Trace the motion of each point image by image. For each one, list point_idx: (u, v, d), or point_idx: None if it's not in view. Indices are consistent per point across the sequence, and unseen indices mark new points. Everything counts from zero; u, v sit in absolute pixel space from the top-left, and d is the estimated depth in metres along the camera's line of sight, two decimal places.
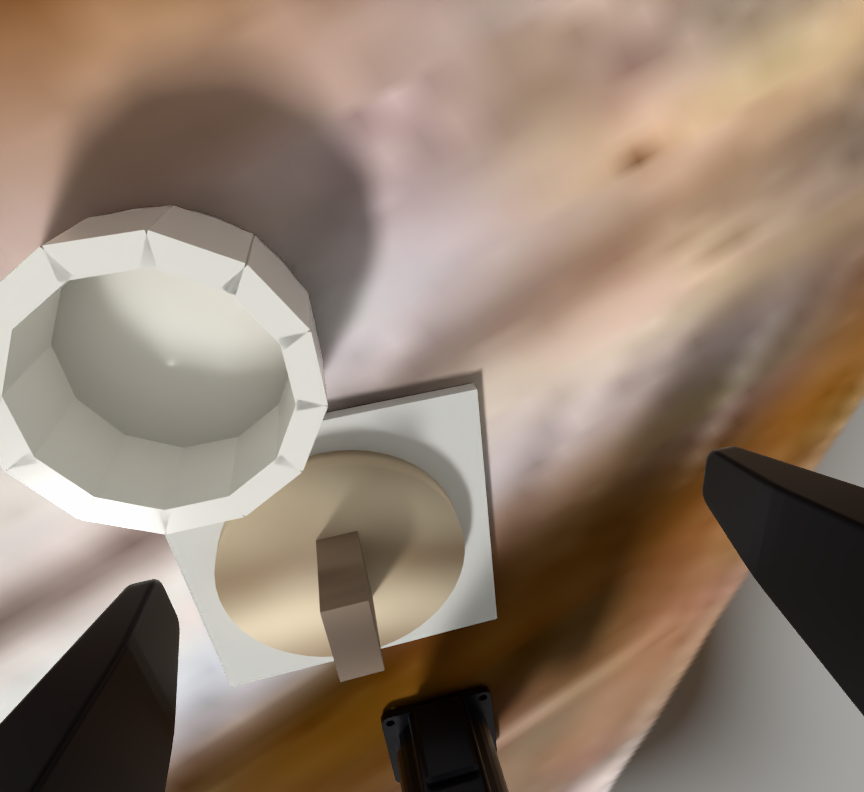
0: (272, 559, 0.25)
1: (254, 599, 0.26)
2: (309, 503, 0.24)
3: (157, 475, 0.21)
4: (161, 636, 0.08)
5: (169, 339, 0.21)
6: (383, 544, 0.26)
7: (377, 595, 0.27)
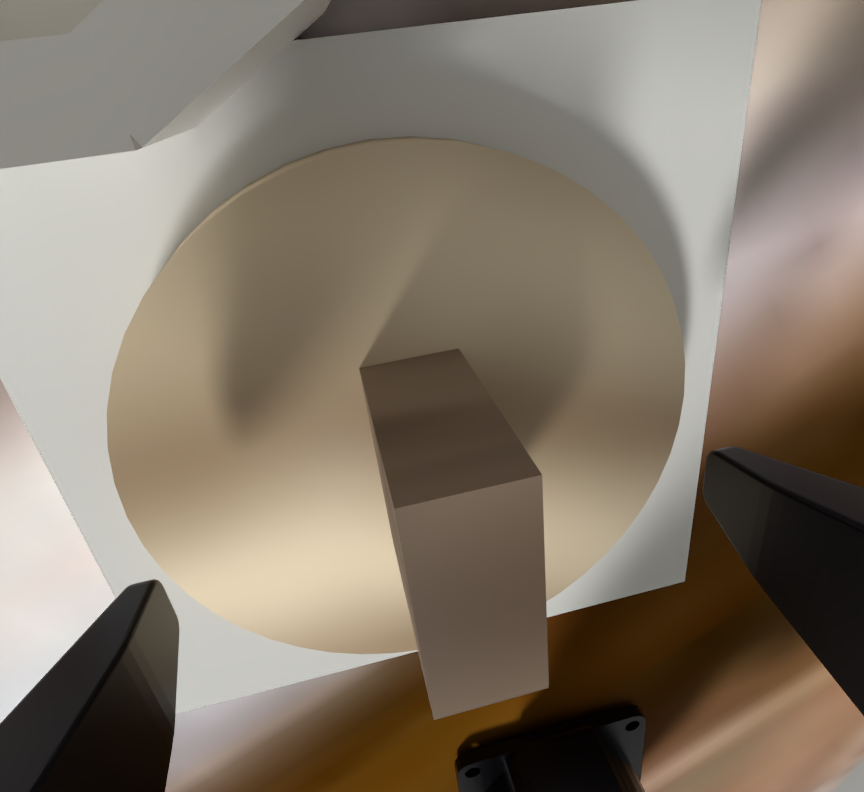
0: (254, 413, 0.10)
1: (212, 518, 0.11)
2: (346, 255, 0.09)
3: None
4: (161, 636, 0.08)
5: None
6: (513, 389, 0.11)
7: None
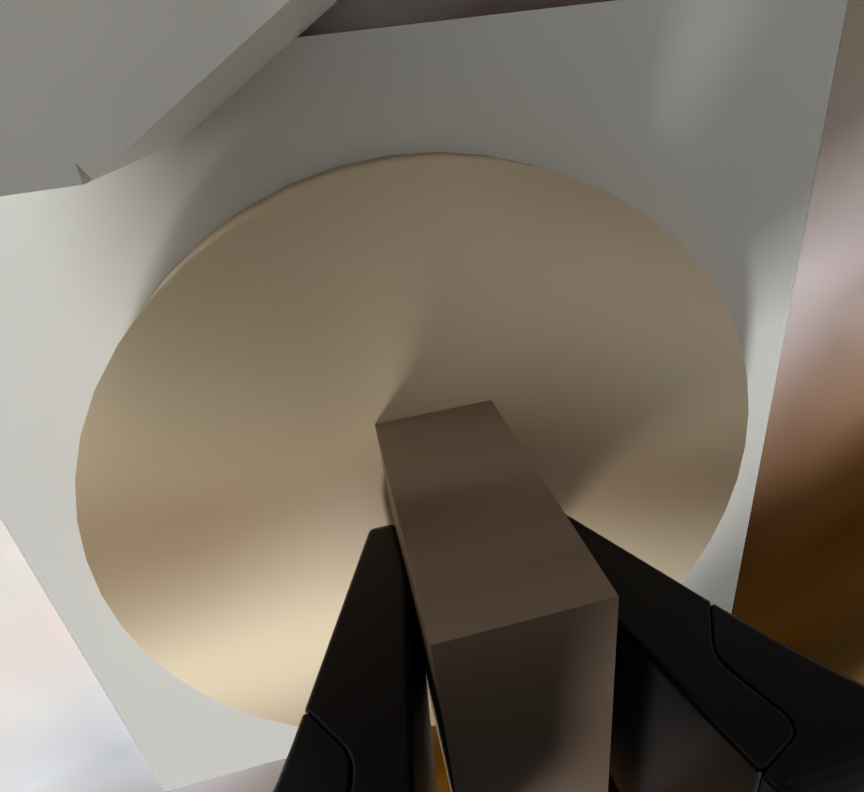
0: (251, 477, 0.09)
1: (202, 594, 0.09)
2: (361, 295, 0.08)
3: None
4: None
5: None
6: (553, 444, 0.10)
7: None
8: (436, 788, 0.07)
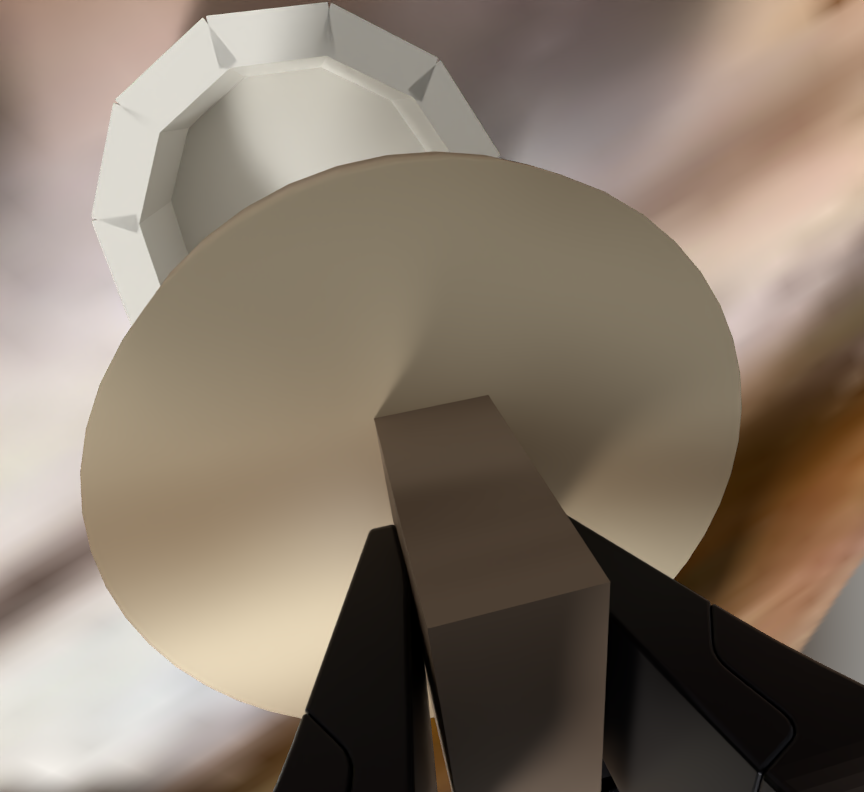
0: (252, 470, 0.09)
1: (204, 586, 0.10)
2: (361, 291, 0.08)
3: None
4: None
5: None
6: (548, 439, 0.10)
7: None
8: (436, 788, 0.07)
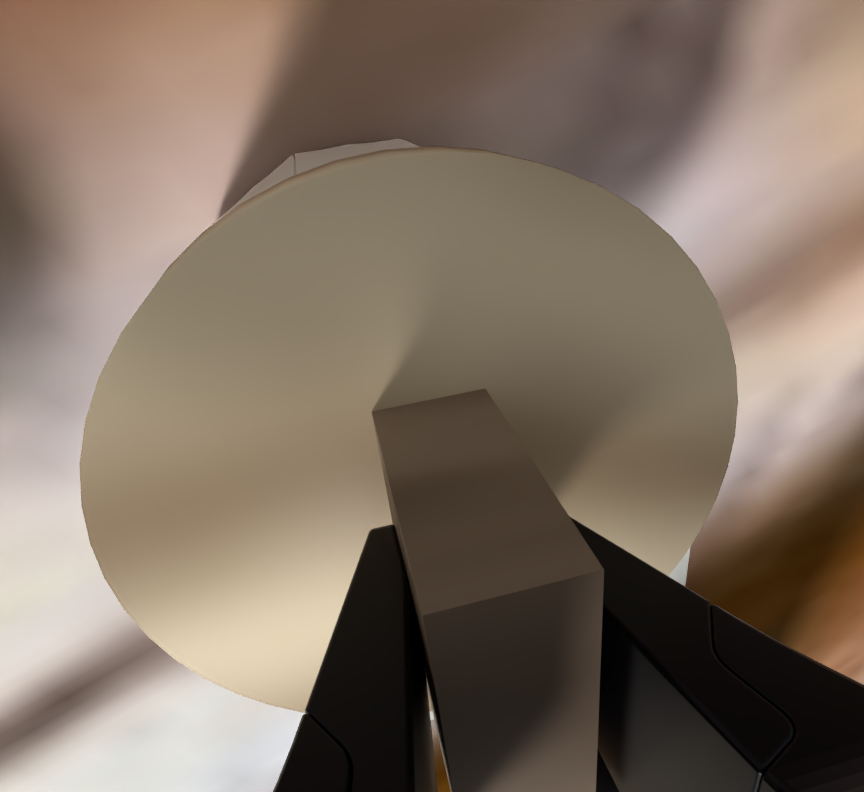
0: (250, 463, 0.09)
1: (203, 579, 0.10)
2: (358, 285, 0.08)
3: None
4: None
5: None
6: (545, 433, 0.10)
7: None
8: (436, 788, 0.07)
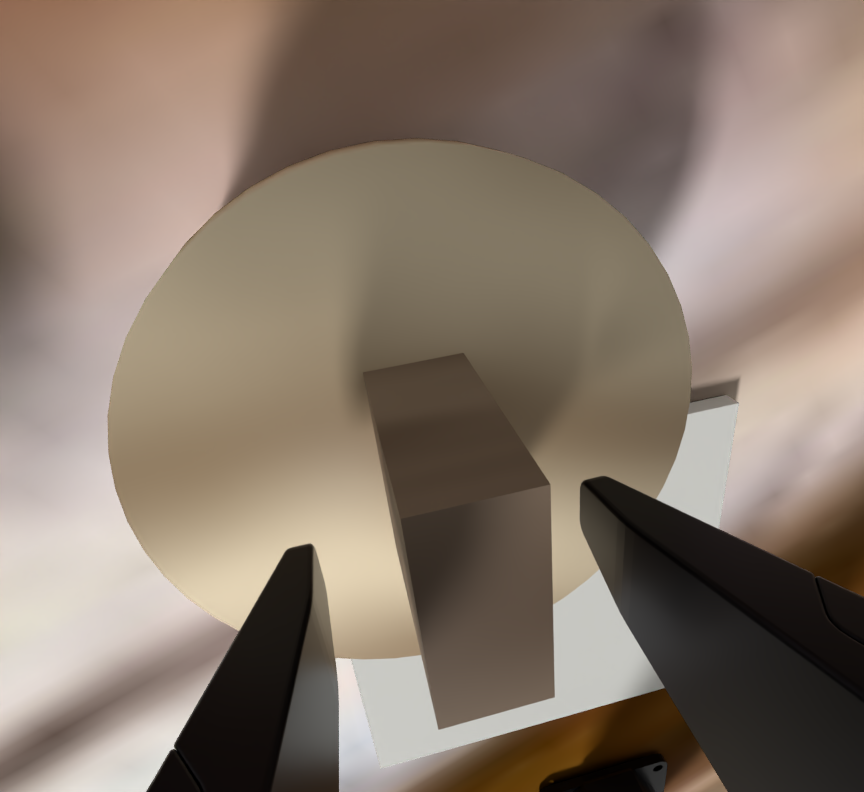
0: (256, 418, 0.10)
1: (214, 523, 0.11)
2: (350, 258, 0.09)
3: None
4: (322, 597, 0.09)
5: None
6: (519, 393, 0.11)
7: None
8: None
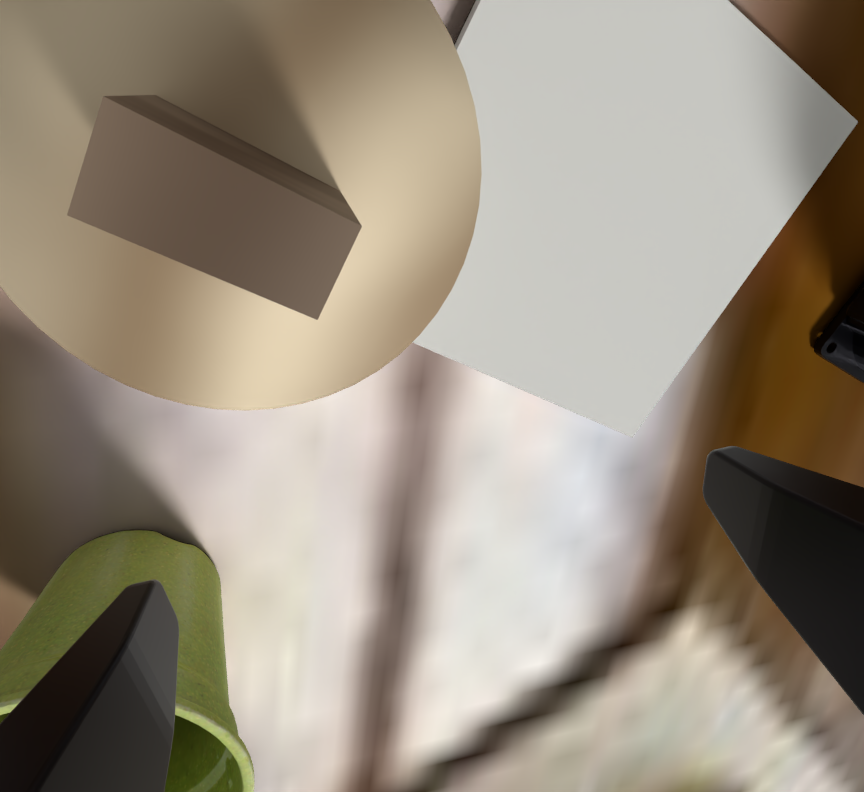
0: (122, 272, 0.13)
1: (194, 355, 0.14)
2: (21, 123, 0.11)
3: None
4: (160, 636, 0.08)
5: None
6: (226, 75, 0.12)
7: (345, 181, 0.13)
8: None
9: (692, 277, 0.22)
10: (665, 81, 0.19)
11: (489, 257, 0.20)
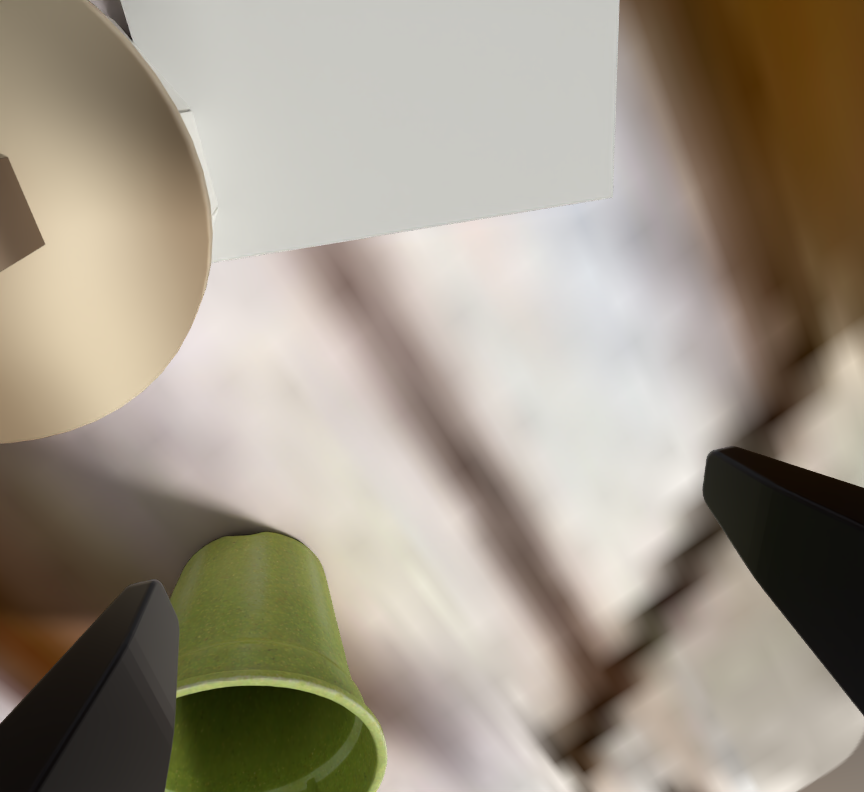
0: None
1: (35, 386, 0.14)
2: None
3: None
4: (161, 636, 0.08)
5: None
6: None
7: (3, 144, 0.12)
8: None
9: None
10: None
11: (303, 114, 0.17)
